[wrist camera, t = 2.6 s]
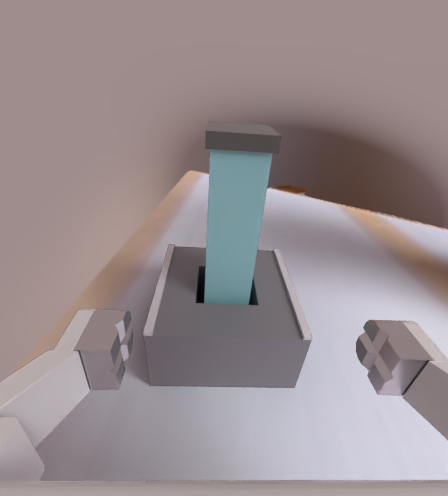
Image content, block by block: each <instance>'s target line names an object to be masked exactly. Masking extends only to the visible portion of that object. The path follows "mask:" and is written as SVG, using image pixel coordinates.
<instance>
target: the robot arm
mask: <svg viewBox="0 0 448 496" xmlns="http://www.w3.org/2000/svg"><path fill="white" fill-rule="evenodd" d="M130 321H131V316H130V312H129V311H123V310H107V309H86V308H81V309H80V310H78V311H77V312H76V314H75V316H74V317H73V319H72V321H71V322H70V324H69V325H68V327H67V329H66V330H65V332H64V333H63V335H62V337H61V338H60V340H59V342H58V343H57V345H56V346H55V348H54V350H47V351H46V352H44V353H43V354H41V355H40V356H38V357H37V358H35V359H34V360H32V361H31V362H29V363H28V364H26V365H25V366H23V367H22V368H20V369H19V370H17V371H16V372H14V373H13V374H11V375H10V376H8V377H7V378H5V379H4V380H2V381H1V382H0V496H448V480H156V481H40V480H41V478H42V475H43V473H44V471H45V469H46V468H45V465H44V463H43V461H42V459H41V458H40V456H39V454H38V453H37V451H36V449H35V448H36V447H37V446H38V445H39V444H40V443H41V442H42V441H43V440H44V439H45V438H46V437H47V436H48V435H49V434H50V433H51V432H52V431H53V430H54V429H55V427H56V426H57V425H58V424H59V423H60V422H61V421H62V420H63V419H64V418H65V417H66V416H67V415H68V414H69V413H70V412H71V411H72V410H73V409H74V408H75V407H76V406H77V405H78V404H79V403H80V402H81V401H82V400H83V399H84V398H85V397H86V395H87V394H88V393H89V392H90V390H119V387H120V384H121V381H122V378H123V375H124V372H125V366H124V361H126V360H127V359H128V358H129V356H130V353H131V349H132V343H133V330H132V328H131V327H130V326H129V323H130ZM363 328H364V330H365V333H363V334H362V335H360V336H359V338H358V340H357V342H356V352H357V356H358V359H359V361H360V363H361V364H362V365H363V366H364V367H366V368H367V369H368V370H369V371H368V378H369V380H370V382H371V383H372V385H373V387H374V389H375V391H376V393H377V395H393V396H403V398H404V399H405V400H406V401H407V402H408V403H409V404H410V405H411V406H412V407H413V408H414V409H415V410H416V411H417V412H419V413H420V414H421V415H422V416H423V417H424V418H425V419H426V420H427V421H428V422H429V423H430V424H431V425H432V426H433V427H434V428H435V429H437V430H438V431H439V432H440V433H441V434H442V435H443V436H444V437H445V438H446V439H447V440H448V359H447V358H446V357H445V355H444V354H443V353H442V352H441V351H440V350H439V348H438V347H437V346H436V345H435V344H434V343H433V341H432V340H431V339H430V338H429V337H428V336H427V334H426V333H425V332H424V331H423V330H422V329H421V327H420V326H419V325H418V324H417V323H415V322H413V321H393V320H369V321H367V322H366V323H365V325H364V327H363Z"/></svg>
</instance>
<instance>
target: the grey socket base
mask: <svg viewBox="0 0 448 496" xmlns="http://www.w3.org/2000/svg"><path fill="white" fill-rule="evenodd" d="M205 271H206V248H196V247H175V244H169V245H168V249H167V252H166V256H165V259H164V263H163V266H162V270H161V273H160V276H159V280H158V283H157V287H156V290H155V294H154V297H153V300H152V304H151V307H150V311H149V314H148V318H147V321H146V325H145V328H144V331H143V336H144V343H145V351H146V359H147V366H148V374H149V382H150V386H208V387H272V388H295V385H296V382H297V379H298V377H299V374H300V371H301V368H302V365H303V363H304V360H305V357H306V354H307V351H308V349H309V346H310V343H311V340H312V335H311V332H310V329H309V327H308V324H307V321H306V319H305V316H304V313H303V311H302V308H301V305H300V303H299V300H298V297H297V295H296V292H295V289H294V287H293V284H292V282H291V279H290V276H289V274H288V271H287V268H286V266H285V263H284V260H283V258H282V255H281V252H280V250H279V249H274V250H273V251H263V250H257V254H256V261H255V267H254V273H253V280H252V286H251V292H250V299H249V305H233V304H204V296H205Z"/></svg>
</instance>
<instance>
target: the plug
mask: <svg viewBox="0 0 448 496" xmlns="http://www.w3.org/2000/svg"><path fill="white" fill-rule="evenodd" d="M280 141H281V135H280V134H279V133H277V132H276V131H275V130H274V129H273V128H271V127H270V126H269V125H256V124H242V123H228V122H214V121H208V123H207V128H206V143H205V144H206V145H205V148H206V149H210V172H209V197H208V221H207V246H206V271H205V296H204V304H233V305H249V299H250V292H251V286H252V280H253V273H254V267H255V261H256V254H257V248H258V242H259V235H260V229H261V223H262V216H263V210H264V204H265V197H266V191H267V185H268V178H269V172H270V165H271V159H272V153H277V154H278V153H279V147H280Z"/></svg>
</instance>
